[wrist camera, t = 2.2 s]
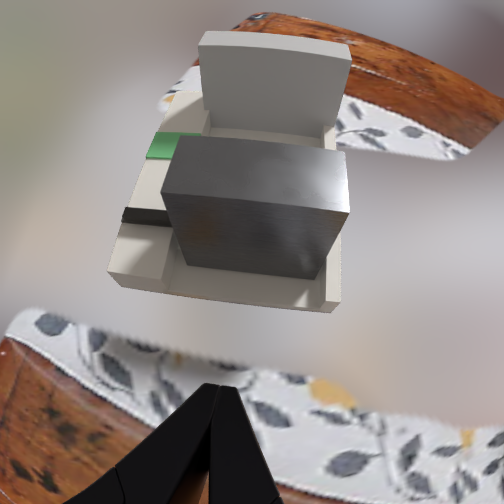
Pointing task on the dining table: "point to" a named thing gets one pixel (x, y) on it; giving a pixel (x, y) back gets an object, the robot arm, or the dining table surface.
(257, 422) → the dining table surface
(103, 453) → the dining table surface
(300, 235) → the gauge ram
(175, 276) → the gauge track
